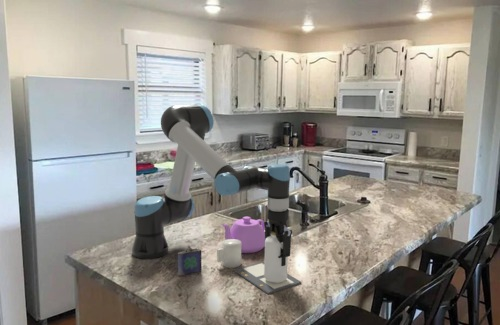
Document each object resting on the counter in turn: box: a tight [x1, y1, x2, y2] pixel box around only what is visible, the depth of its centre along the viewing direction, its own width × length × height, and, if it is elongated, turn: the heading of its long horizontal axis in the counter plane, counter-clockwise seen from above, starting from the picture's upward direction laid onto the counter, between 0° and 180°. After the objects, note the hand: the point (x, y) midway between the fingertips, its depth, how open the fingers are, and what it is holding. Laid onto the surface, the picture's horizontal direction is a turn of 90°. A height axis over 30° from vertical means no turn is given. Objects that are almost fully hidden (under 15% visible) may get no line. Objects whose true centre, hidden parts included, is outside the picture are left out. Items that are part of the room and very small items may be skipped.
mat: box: [233, 260, 302, 295], centre depth 154 cm, size 15×22×1 cm
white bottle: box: [264, 232, 289, 283], centre depth 148 cm, size 8×8×18 cm
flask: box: [177, 245, 202, 277], centre depth 156 cm, size 9×3×11 cm, turn 117°
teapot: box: [221, 216, 265, 254], centre depth 182 cm, size 25×18×14 cm
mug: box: [216, 239, 242, 269], centre depth 164 cm, size 10×8×9 cm
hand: (276, 270), depth 149 cm, fingers open, 4 cm apart
